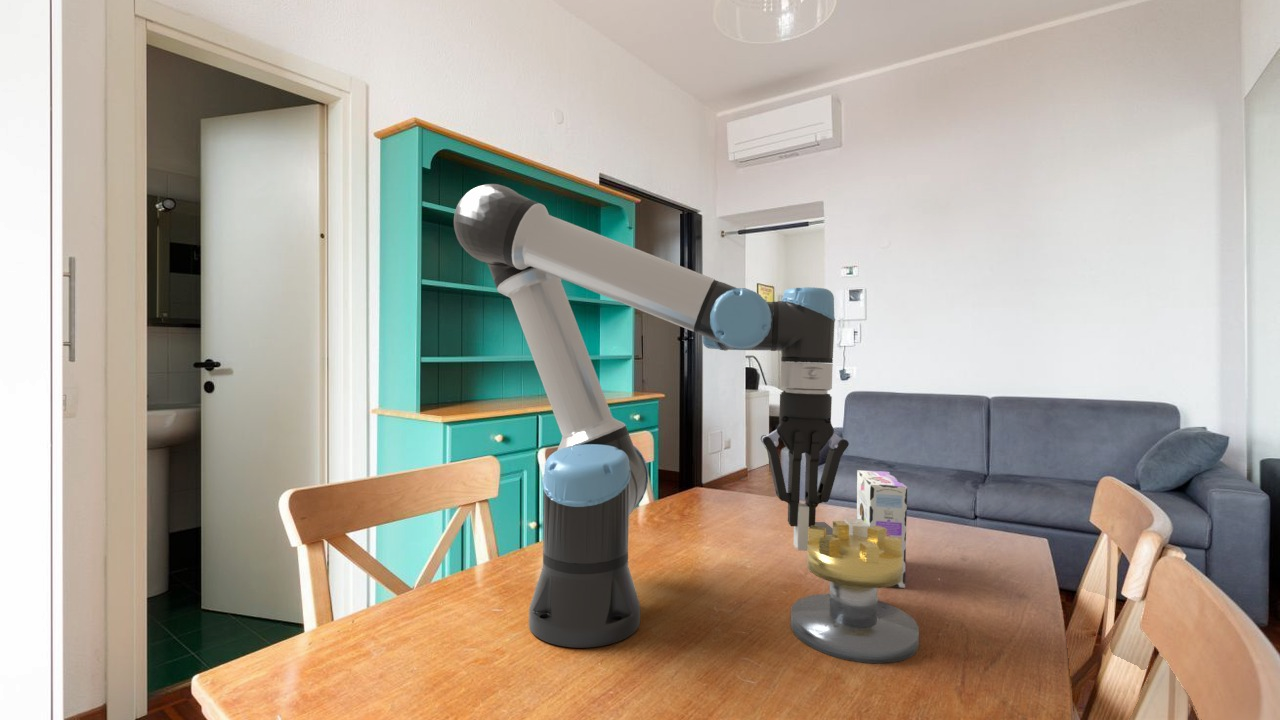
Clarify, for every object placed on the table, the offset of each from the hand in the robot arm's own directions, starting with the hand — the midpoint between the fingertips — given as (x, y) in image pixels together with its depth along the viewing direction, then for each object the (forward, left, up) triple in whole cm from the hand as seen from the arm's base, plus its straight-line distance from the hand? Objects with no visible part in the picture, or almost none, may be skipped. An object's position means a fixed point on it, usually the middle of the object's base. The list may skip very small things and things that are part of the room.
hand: (800, 547), depth 90 cm
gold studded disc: (+4, -6, 0) cm, 7 cm away
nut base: (+5, -8, -8) cm, 12 cm away
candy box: (+17, +13, -8) cm, 23 cm away
